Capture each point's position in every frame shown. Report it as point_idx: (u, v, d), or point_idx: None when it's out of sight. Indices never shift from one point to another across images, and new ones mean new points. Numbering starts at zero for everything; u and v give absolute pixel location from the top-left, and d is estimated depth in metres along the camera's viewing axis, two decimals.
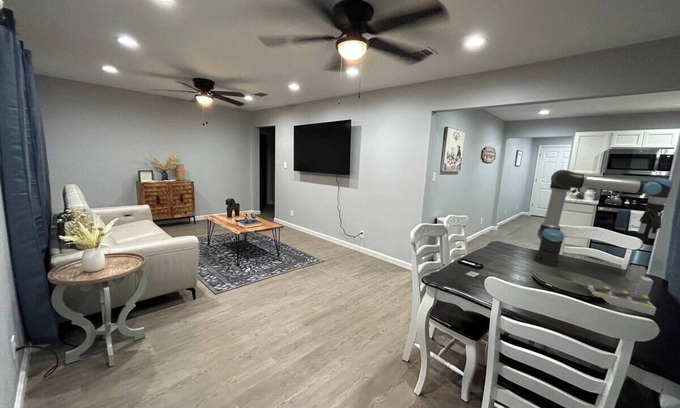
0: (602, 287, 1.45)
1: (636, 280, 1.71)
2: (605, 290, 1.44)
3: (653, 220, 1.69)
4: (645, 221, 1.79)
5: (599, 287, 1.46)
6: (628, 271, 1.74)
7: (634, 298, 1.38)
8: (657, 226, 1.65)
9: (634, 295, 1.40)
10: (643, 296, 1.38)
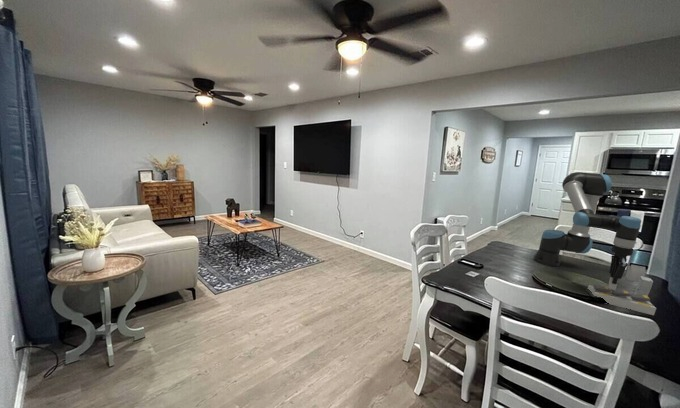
0: (603, 287, 1.45)
1: (636, 280, 1.71)
2: (605, 290, 1.44)
3: (616, 268, 1.40)
4: None
5: (600, 287, 1.46)
6: (628, 271, 1.74)
7: (634, 298, 1.38)
8: (617, 277, 1.39)
9: (634, 295, 1.40)
10: (643, 296, 1.38)
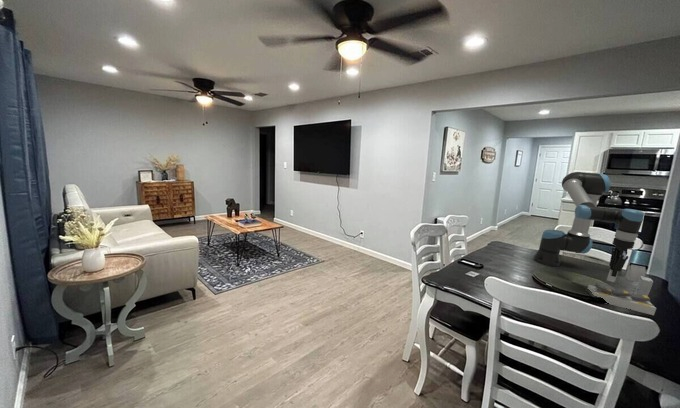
0: (604, 288, 1.45)
1: (636, 280, 1.71)
2: (606, 291, 1.43)
3: (616, 261, 1.40)
4: None
5: (602, 287, 1.45)
6: (628, 271, 1.74)
7: (634, 298, 1.38)
8: (617, 269, 1.39)
9: (634, 295, 1.40)
10: (643, 296, 1.38)
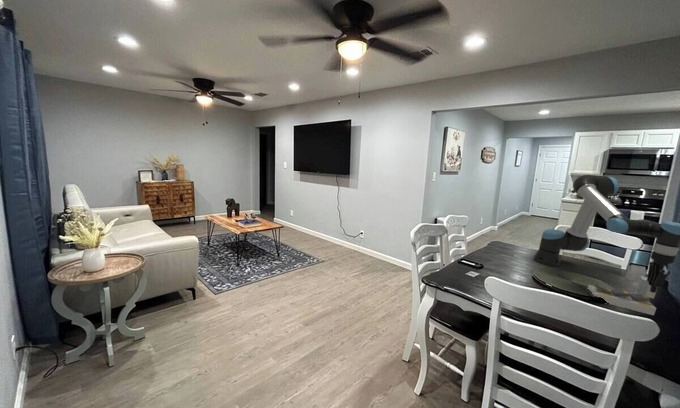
0: (604, 288, 1.45)
1: (636, 280, 1.71)
2: (606, 291, 1.43)
3: (656, 276, 1.33)
4: None
5: (602, 287, 1.45)
6: (628, 271, 1.74)
7: (634, 298, 1.38)
8: (657, 285, 1.32)
9: (634, 295, 1.40)
10: (643, 296, 1.38)
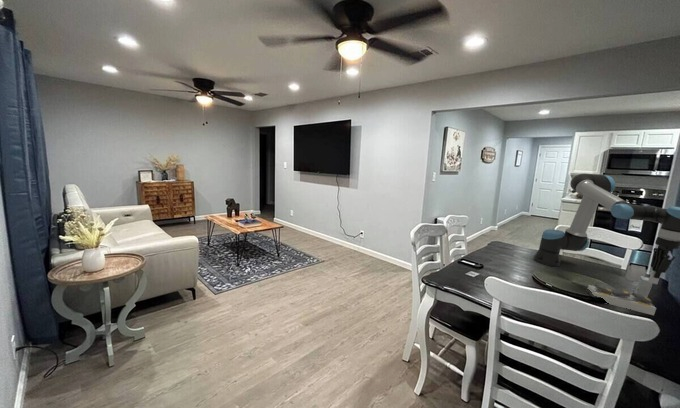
0: (604, 288, 1.45)
1: (636, 280, 1.71)
2: (606, 291, 1.43)
3: (660, 262, 1.32)
4: None
5: (602, 287, 1.45)
6: (628, 271, 1.74)
7: (636, 297, 1.38)
8: (661, 271, 1.31)
9: (637, 294, 1.39)
10: (645, 297, 1.38)
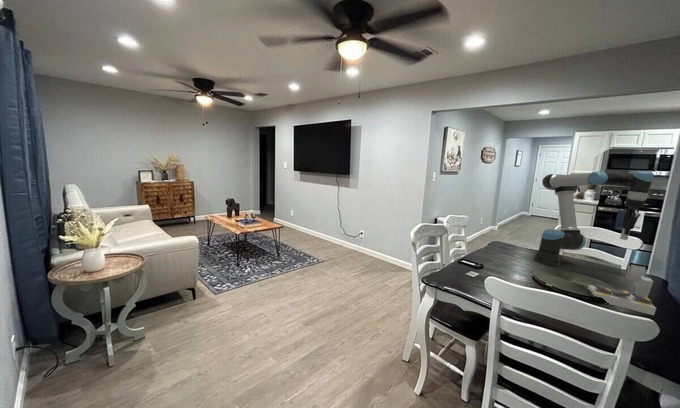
0: (604, 288, 1.45)
1: (636, 280, 1.71)
2: (606, 291, 1.43)
3: (628, 220, 1.53)
4: None
5: (602, 287, 1.45)
6: (628, 271, 1.74)
7: (636, 297, 1.38)
8: (629, 227, 1.52)
9: (637, 294, 1.39)
10: (645, 298, 1.38)
